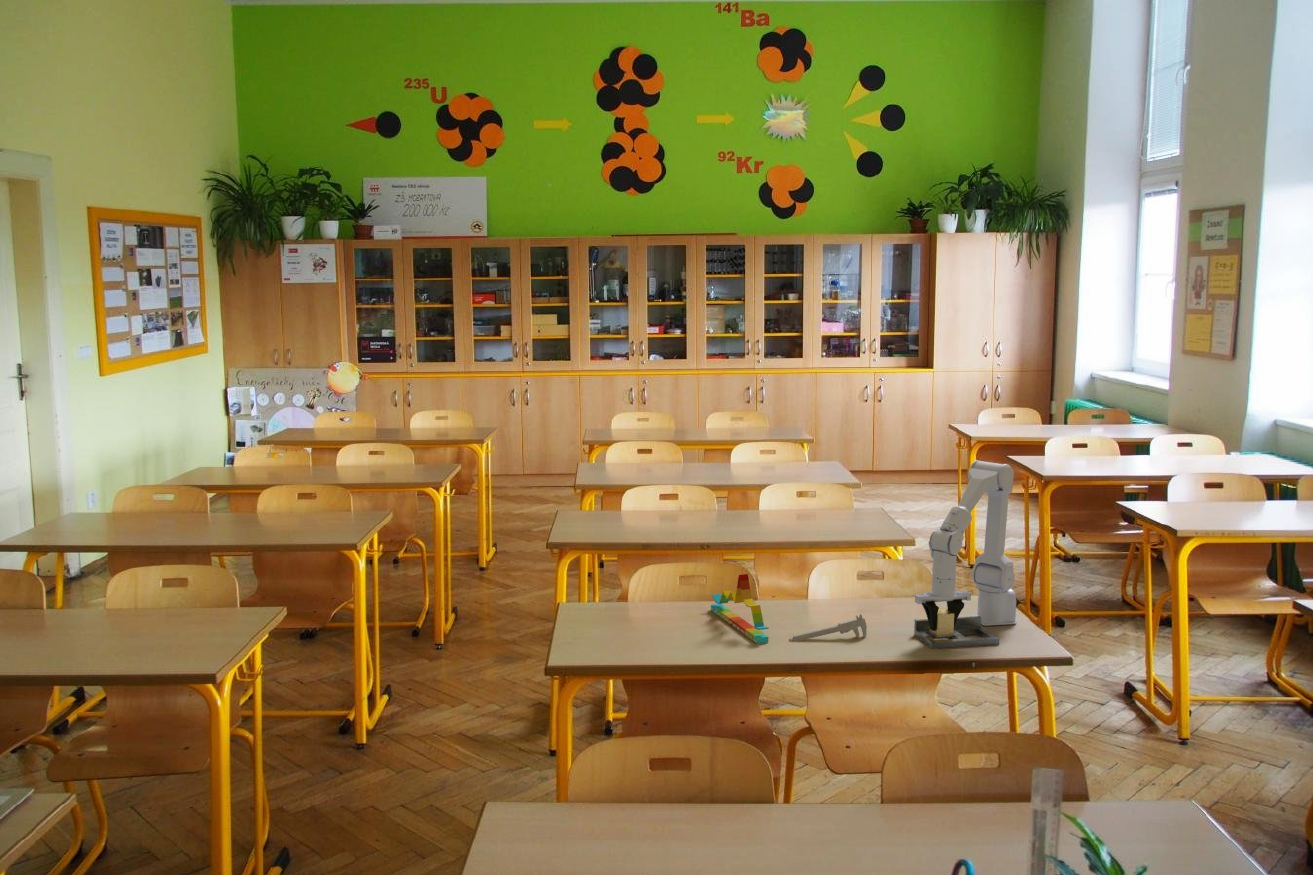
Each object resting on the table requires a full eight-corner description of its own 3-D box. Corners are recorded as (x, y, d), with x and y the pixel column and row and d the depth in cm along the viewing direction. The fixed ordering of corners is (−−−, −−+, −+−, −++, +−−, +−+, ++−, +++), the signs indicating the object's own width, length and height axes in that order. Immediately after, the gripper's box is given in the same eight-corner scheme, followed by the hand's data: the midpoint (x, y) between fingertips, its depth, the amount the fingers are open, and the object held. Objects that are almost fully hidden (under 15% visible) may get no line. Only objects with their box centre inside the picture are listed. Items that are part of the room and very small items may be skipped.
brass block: (944, 630, 282) (945, 608, 282) (953, 636, 278) (954, 613, 277) (928, 632, 281) (929, 609, 281) (937, 637, 277) (937, 614, 276)
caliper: (867, 635, 284) (863, 613, 283) (868, 636, 283) (864, 614, 282) (791, 654, 281) (787, 632, 280) (792, 655, 280) (788, 633, 279)
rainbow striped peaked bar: (709, 611, 305) (710, 558, 303) (720, 610, 306) (721, 557, 304) (756, 645, 277) (757, 587, 275) (768, 643, 278) (769, 586, 276)
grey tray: (978, 630, 288) (979, 616, 287) (999, 644, 277) (999, 629, 277) (914, 634, 285) (914, 619, 284) (932, 648, 274) (932, 633, 273)
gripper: (962, 571, 283) (960, 622, 285) (910, 574, 280) (908, 625, 281) (976, 578, 276) (973, 630, 278) (923, 581, 273) (920, 634, 275)
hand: (941, 628), depth 279 cm, fingers closed on brass block, 4 cm apart
